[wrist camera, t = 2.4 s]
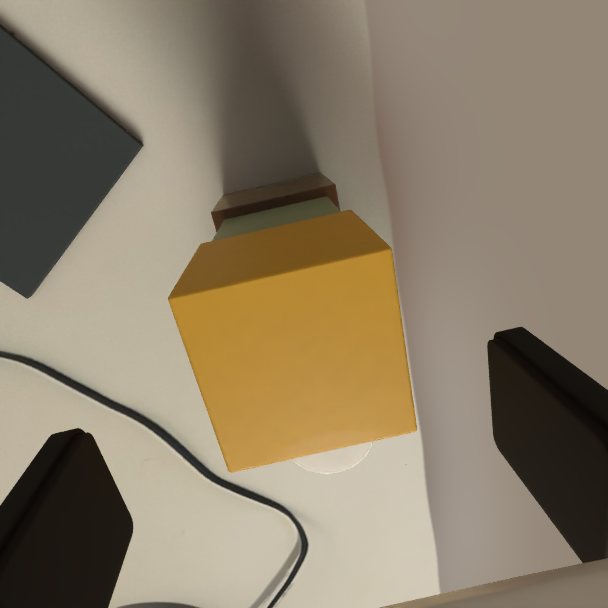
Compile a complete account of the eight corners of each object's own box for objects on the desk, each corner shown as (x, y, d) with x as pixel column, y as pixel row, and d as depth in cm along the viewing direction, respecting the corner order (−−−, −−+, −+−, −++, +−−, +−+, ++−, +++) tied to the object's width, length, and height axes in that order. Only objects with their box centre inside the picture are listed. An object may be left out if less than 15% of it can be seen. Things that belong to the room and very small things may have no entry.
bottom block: (321, 172, 29) (335, 184, 23) (339, 267, 31) (356, 300, 25) (222, 195, 29) (210, 212, 23) (248, 287, 31) (243, 325, 25)
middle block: (327, 196, 23) (346, 216, 17) (346, 294, 25) (368, 341, 19) (223, 219, 23) (207, 248, 17) (249, 315, 25) (244, 369, 19)
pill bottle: (338, 387, 34) (368, 495, 24) (260, 372, 34) (256, 478, 23) (362, 315, 32) (405, 399, 22) (279, 297, 31) (284, 377, 21)
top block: (351, 209, 17) (391, 246, 11) (374, 345, 19) (418, 432, 14) (199, 243, 17) (166, 297, 12) (240, 375, 19) (228, 474, 14)
